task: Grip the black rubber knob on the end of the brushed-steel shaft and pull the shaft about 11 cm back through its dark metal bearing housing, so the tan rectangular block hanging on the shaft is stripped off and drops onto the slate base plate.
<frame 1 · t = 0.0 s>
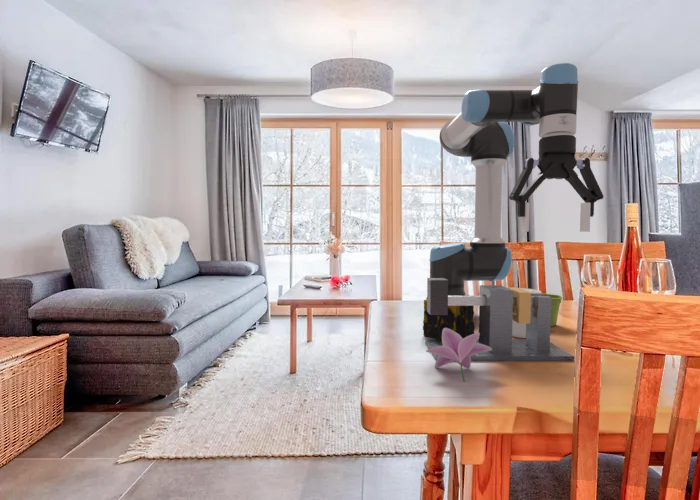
hand: (554, 231, 96), 28 cm above the table, fingers open, 13 cm apart
plant pot: (544, 324, 127), on the table
shaft: (485, 296, 98), point 13 cm above the table, slide at 0.0 cm, touching tan rectangular block
candle holder: (520, 335, 115), on the table
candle: (448, 337, 113), on the table
tan rectangular block: (517, 319, 99), point 7 cm above the table, touching shaft
shaft stand: (494, 351, 99), on the table
lily: (458, 375, 84), on the table
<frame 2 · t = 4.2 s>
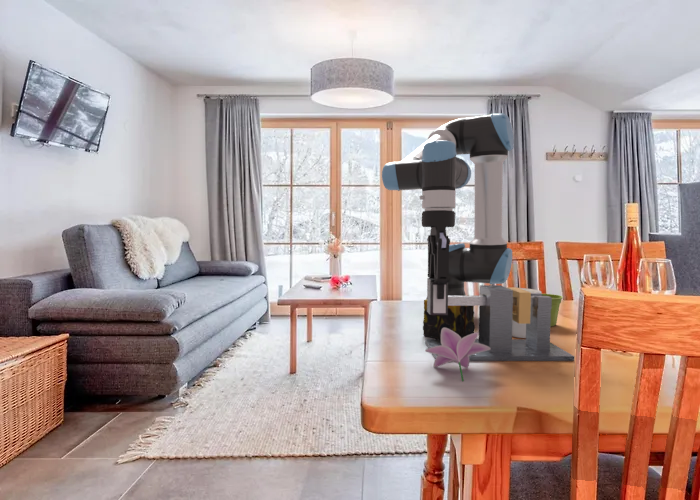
hand: (437, 310, 98), 10 cm above the table, fingers closed on shaft, 4 cm apart
shaft: (485, 296, 98), point 13 cm above the table, slide at 0.0 cm, touching gripper, tan rectangular block
everything else where it was.
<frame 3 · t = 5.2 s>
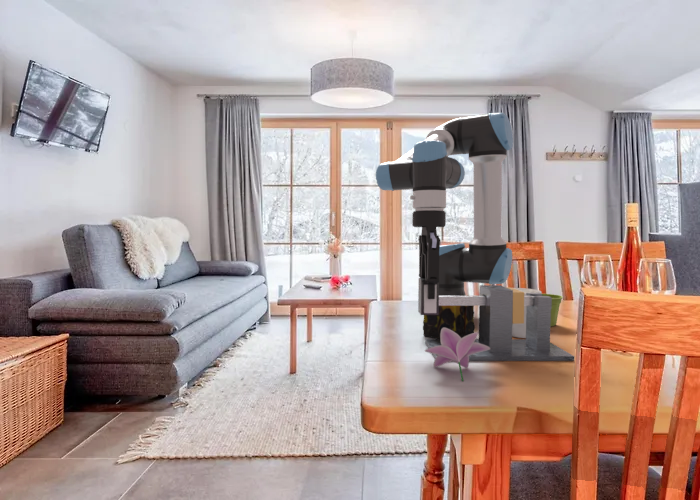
hand: (428, 310, 98), 10 cm above the table, fingers closed on shaft, 4 cm apart
shaft: (476, 296, 98), point 13 cm above the table, slide at 2.1 cm, touching gripper, tan rectangular block
tan rectangular block: (511, 319, 99), point 8 cm above the table, touching shaft
everything else where it was.
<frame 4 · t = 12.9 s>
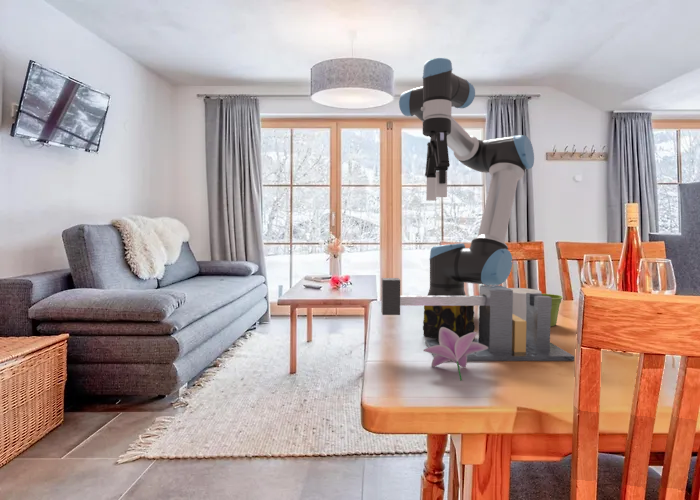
hand: (436, 199, 115), 37 cm above the table, fingers open, 13 cm apart
shaft: (439, 296, 98), point 13 cm above the table, slide at 10.9 cm
tan rectangular block: (513, 347, 99), point 1 cm above the table, touching shaft stand
everything else where it was.
at the end: shaft slide at 10.9 cm; tan rectangular block point 1.0 cm above the table; tan rectangular block touching shaft stand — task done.
